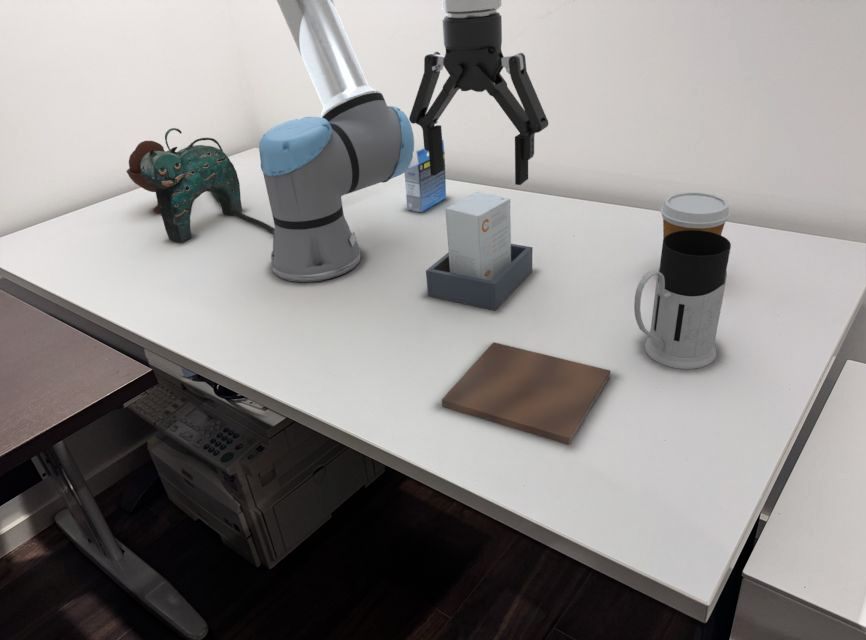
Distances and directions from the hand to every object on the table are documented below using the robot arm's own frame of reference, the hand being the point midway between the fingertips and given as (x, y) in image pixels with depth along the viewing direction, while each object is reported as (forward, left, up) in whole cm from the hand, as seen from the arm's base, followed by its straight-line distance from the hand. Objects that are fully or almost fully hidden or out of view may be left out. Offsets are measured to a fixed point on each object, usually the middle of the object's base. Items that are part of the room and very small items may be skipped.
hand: (478, 177), depth 96 cm
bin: (0, 0, -17) cm, 17 cm away
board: (+18, -23, -17) cm, 34 cm away
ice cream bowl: (-79, +5, -18) cm, 81 cm away
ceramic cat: (-63, +1, -18) cm, 66 cm away
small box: (0, 0, -17) cm, 17 cm away
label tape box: (-26, +27, -18) cm, 41 cm away
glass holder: (+31, -9, -18) cm, 37 cm away
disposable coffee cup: (+28, +14, -18) cm, 36 cm away
